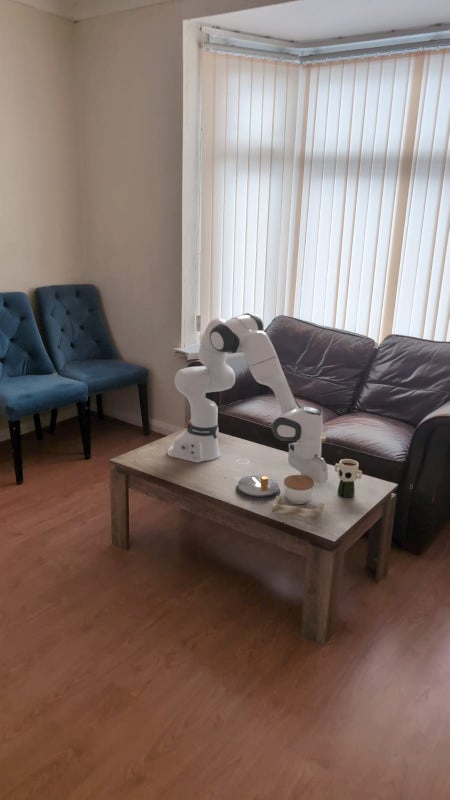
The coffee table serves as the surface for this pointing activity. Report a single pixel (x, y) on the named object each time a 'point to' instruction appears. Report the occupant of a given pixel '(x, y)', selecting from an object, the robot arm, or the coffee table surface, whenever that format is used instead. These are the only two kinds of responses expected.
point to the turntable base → (257, 498)
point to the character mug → (347, 476)
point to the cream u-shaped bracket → (297, 510)
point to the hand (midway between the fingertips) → (306, 484)
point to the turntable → (258, 486)
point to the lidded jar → (298, 488)
